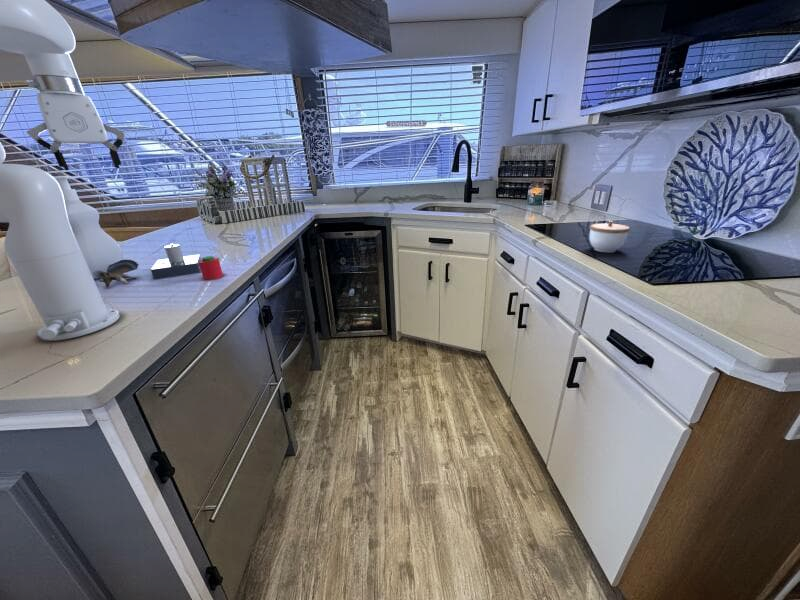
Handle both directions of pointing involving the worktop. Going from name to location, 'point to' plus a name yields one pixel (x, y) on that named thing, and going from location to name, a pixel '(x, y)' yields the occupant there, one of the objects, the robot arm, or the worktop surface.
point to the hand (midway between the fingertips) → (93, 169)
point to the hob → (176, 267)
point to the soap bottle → (89, 231)
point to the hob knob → (174, 253)
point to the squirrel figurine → (116, 272)
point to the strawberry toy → (210, 268)
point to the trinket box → (608, 236)
